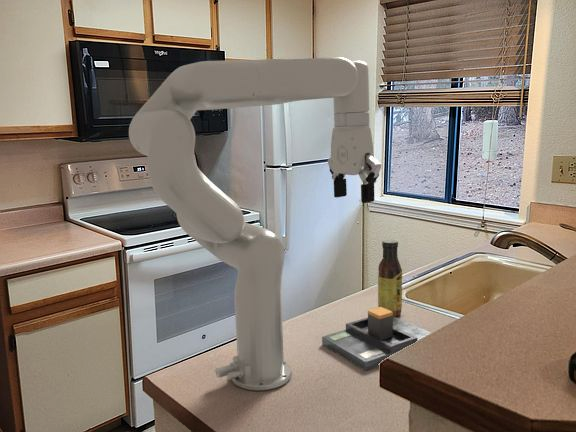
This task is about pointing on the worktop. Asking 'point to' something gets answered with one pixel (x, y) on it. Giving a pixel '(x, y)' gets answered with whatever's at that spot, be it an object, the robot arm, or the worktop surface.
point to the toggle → (380, 323)
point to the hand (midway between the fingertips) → (353, 199)
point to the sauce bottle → (390, 279)
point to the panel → (371, 342)
